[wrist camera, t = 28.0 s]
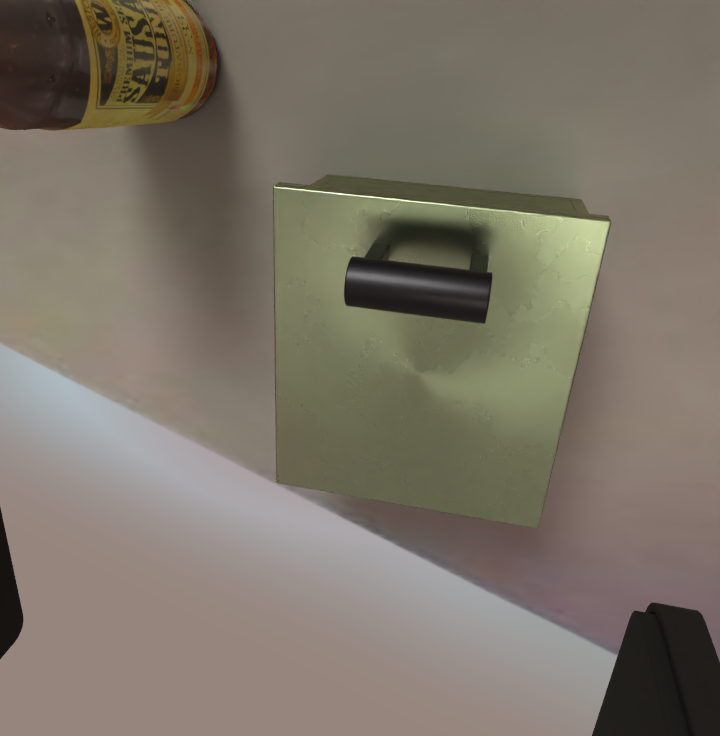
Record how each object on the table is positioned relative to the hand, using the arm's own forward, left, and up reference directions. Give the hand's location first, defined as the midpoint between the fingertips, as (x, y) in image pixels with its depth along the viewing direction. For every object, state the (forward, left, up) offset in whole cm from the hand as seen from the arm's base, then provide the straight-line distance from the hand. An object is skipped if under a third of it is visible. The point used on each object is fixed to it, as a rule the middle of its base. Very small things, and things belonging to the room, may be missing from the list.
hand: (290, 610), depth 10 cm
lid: (+5, +1, -20) cm, 21 cm away
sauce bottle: (-4, -16, -28) cm, 33 cm away
